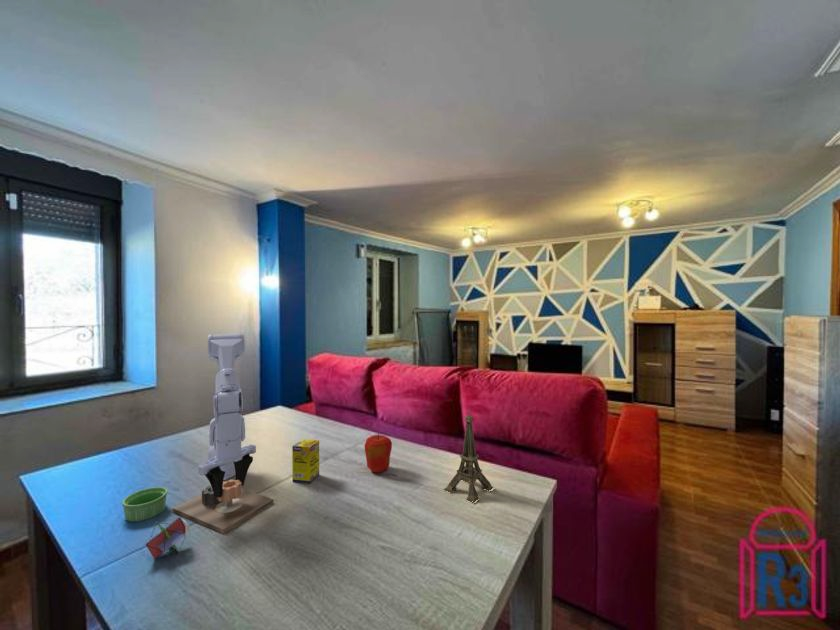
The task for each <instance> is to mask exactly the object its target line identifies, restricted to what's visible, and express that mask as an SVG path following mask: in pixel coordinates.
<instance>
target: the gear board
mask: <svg viewBox="0 0 840 630" xmlns="http://www.w3.org/2000/svg"><path fill="white" fill-rule="evenodd" d="M273 504H274V499H273V498H271V497H268V496H265V495H262V494H259V493H255V492H253V491H249V490H247V489H244V488H242V494H241V495H239V496H238V498H237V499H233V500H230V501H228V502H226V501H221V502H220V501H218V499H217V497H215V496H214V492H213V489H212V486H211V485H208V486H206V487H205V488H203V489H202V490H201V494H198V495H197V496H195V497H192V498H191V499H188V500H187V501H186V500H185V501H184V502H182V503H180V504H178V505H176V506H174V507H172V508H171V511H172V513H174V514H177V515H179V516H180V517H184V518H186V519H188V520H190V521H192V522H194V523H197V524H199V525H201V526H205V527H207V528H209V529H211V530H213V531H216V532H217V533H221V534H222V535H224V534H225V533H227V532H230V531H231V530H232V529H234V528H236V527H237V526H239V525H240V524H242V523H243V522H245V521H247V520H248V519H250V518H251V517H253V516H255V515H257V514H258V513H260V512H262V511H263V510H264V509H266V508H268V507H269V506H271V505H273Z"/></svg>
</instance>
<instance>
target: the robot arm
mask: <svg viewBox="0 0 840 630" xmlns="http://www.w3.org/2000/svg"><path fill="white" fill-rule="evenodd" d="M245 343H246V342H245V335H244V334H243V333H232V334H231V333H227V334H226V333H225V334H222V333H221V334H211V333H210V334H209V335H207V353H208V358H209V360H210V361H211V362H215V363H216V364H217V366H218V372H217V373H216V375H215V377H214V378H215V379H214V380H215V394H214V395H213V399H212V400H213V401H212V402H213V405H212V406H213V415H214V418H212V419H211V420H210V422H209V431H208V432H209V434H208V441H209V446H210V447H209V449H208V451H207V461H206V462H203V463H201V464H199V465H198V466H197V474H198V475H201V476H205V477H206V478H207V480H208V482H209V484H210V486H212V489H213V492H214V496H215V497H218V498H220V497H222V494H223V482H224V481H227V480H228V479H230V478H233V477H235V480H240V482H241V484H242V487H244V484H245V481H246V478H247V473H248V470H249V469H250V467H251V464H252V463H253V461H254V457H253V456H251V454H253V455H254V454H255V453H257V446H256V445H254V444H249V445H246V446H242V442H244V441H245V439H246V422H245V417H244V416H243V415H242V412H243V410H244V399H243V398H244V397H243V396H244V395H243V392H242V387H241V384H240V382H241V381H240V380H241V379H240V373H239V372H238V371H237V370H235V365H236V362H237V361H239V360H241V359H243V356H244V352H245V345H246V344H245Z"/></svg>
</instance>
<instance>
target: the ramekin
mask: <svg viewBox="0 0 840 630" xmlns="http://www.w3.org/2000/svg"><path fill="white" fill-rule="evenodd" d="M168 492H169V491H168V489H167V487H163V486H154V487H153V486H152V487H148V488H144V489H141V490H138V491H137V490H136V492H133V493H131V494H129V495H127V496H126V497H124V499H123V500H122V506H123V511H124V518H125V520H126V521H128V522H140V521H145V519H146V520H149V519H151V518H154V517H156V516H158V515H160V514H161V513H162V512H163V511H164V510H165V509H166V505H167V504H166V503H167V495H168Z"/></svg>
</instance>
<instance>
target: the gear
mask: <svg viewBox="0 0 840 630" xmlns="http://www.w3.org/2000/svg"><path fill="white" fill-rule="evenodd" d="M242 489H243V486H242V484H241V482H240V480H236V479H229V480H225V481H223V494H222V497H220V498H218V497H217V499H218V501H220V502H221V501H226V502H228V501H230V500H233V499H237V498H238V496H239V495H241V494H242Z"/></svg>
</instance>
